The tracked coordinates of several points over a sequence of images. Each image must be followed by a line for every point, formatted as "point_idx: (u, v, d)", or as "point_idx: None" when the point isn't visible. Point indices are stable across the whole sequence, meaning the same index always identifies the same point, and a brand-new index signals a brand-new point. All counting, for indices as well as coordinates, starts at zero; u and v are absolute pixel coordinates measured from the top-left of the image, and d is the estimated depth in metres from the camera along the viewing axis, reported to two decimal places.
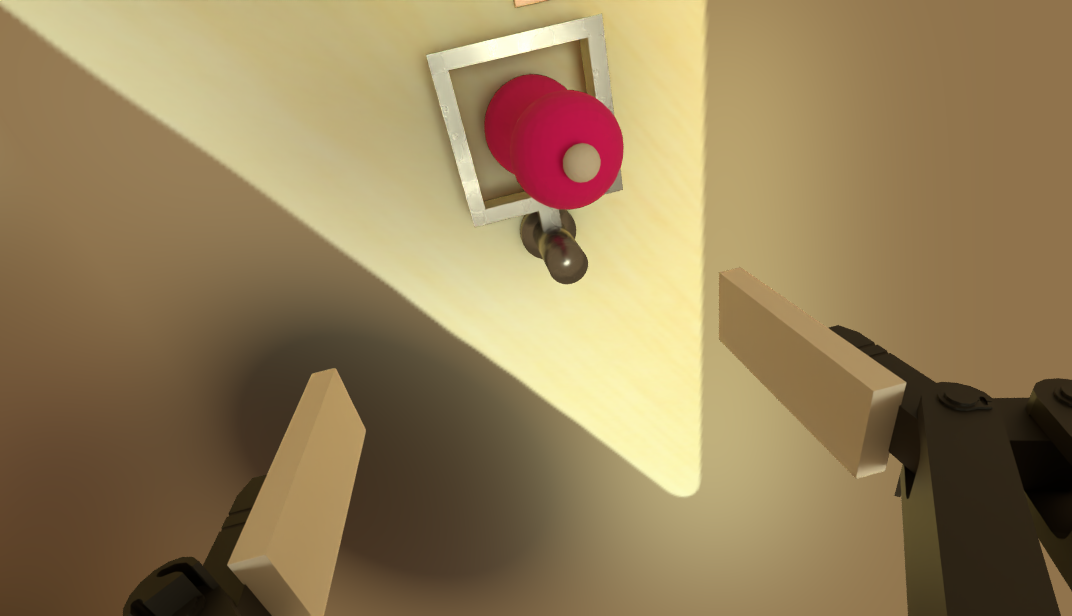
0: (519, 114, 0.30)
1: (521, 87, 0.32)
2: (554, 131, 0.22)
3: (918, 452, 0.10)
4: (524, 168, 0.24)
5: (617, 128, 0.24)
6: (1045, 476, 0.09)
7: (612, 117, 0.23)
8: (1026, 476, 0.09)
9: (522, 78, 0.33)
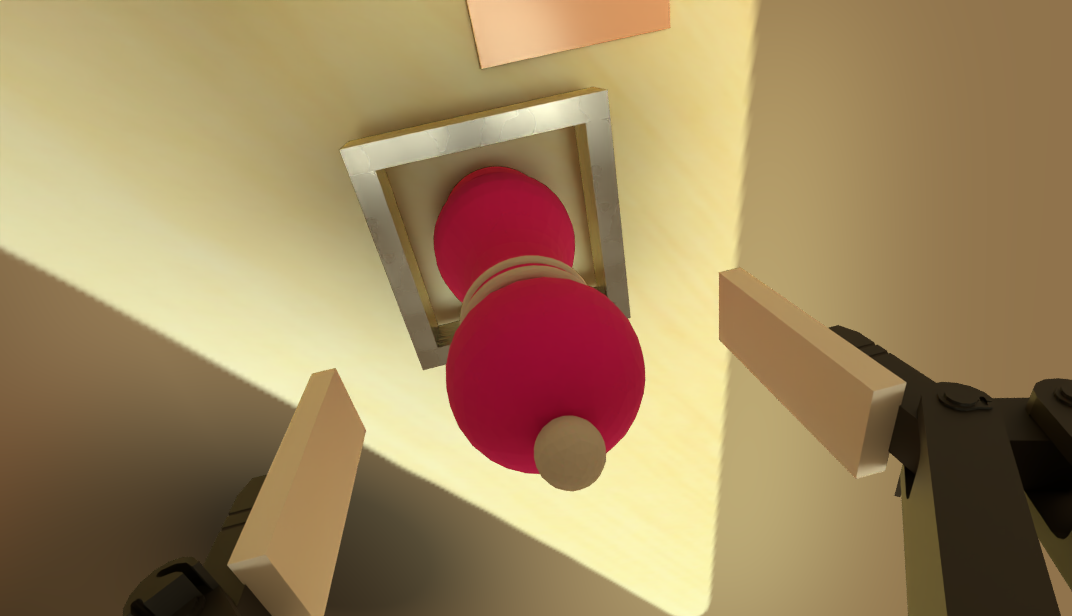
0: (476, 256, 0.19)
1: (484, 202, 0.21)
2: (518, 388, 0.12)
3: (918, 452, 0.10)
4: (465, 428, 0.13)
5: (636, 358, 0.13)
6: (1044, 476, 0.09)
7: (628, 341, 0.13)
8: (1027, 476, 0.09)
9: (487, 183, 0.22)
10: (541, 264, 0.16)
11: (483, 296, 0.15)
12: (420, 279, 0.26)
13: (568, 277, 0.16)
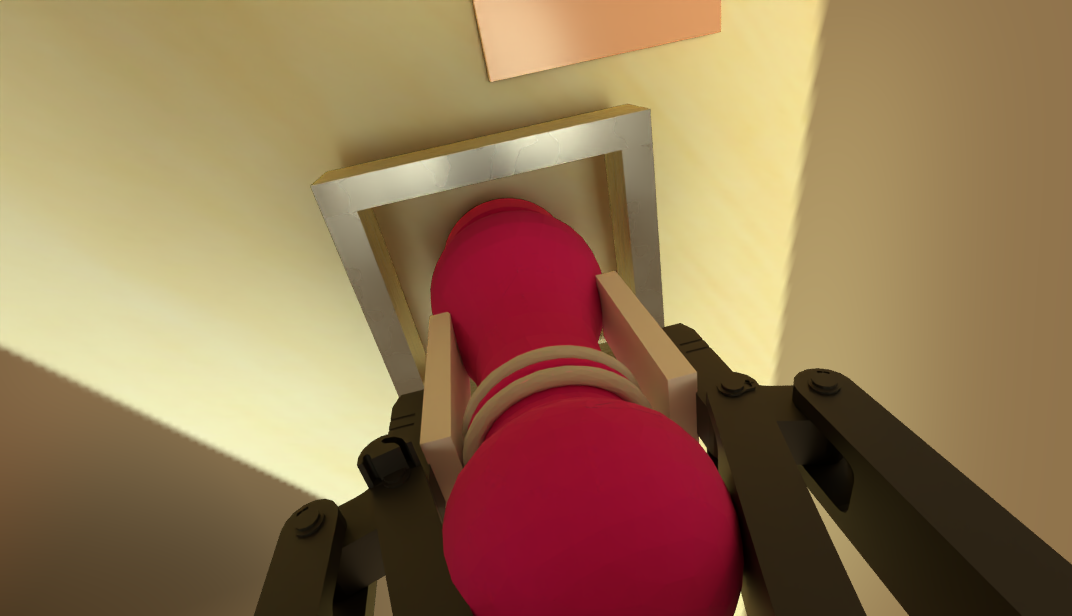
0: (484, 330, 0.15)
1: (494, 253, 0.16)
2: None
3: (715, 439, 0.11)
4: None
5: (737, 541, 0.08)
6: (803, 452, 0.11)
7: (726, 517, 0.08)
8: None
9: (497, 227, 0.17)
10: (577, 360, 0.11)
11: (496, 411, 0.11)
12: (415, 334, 0.22)
13: (616, 381, 0.11)
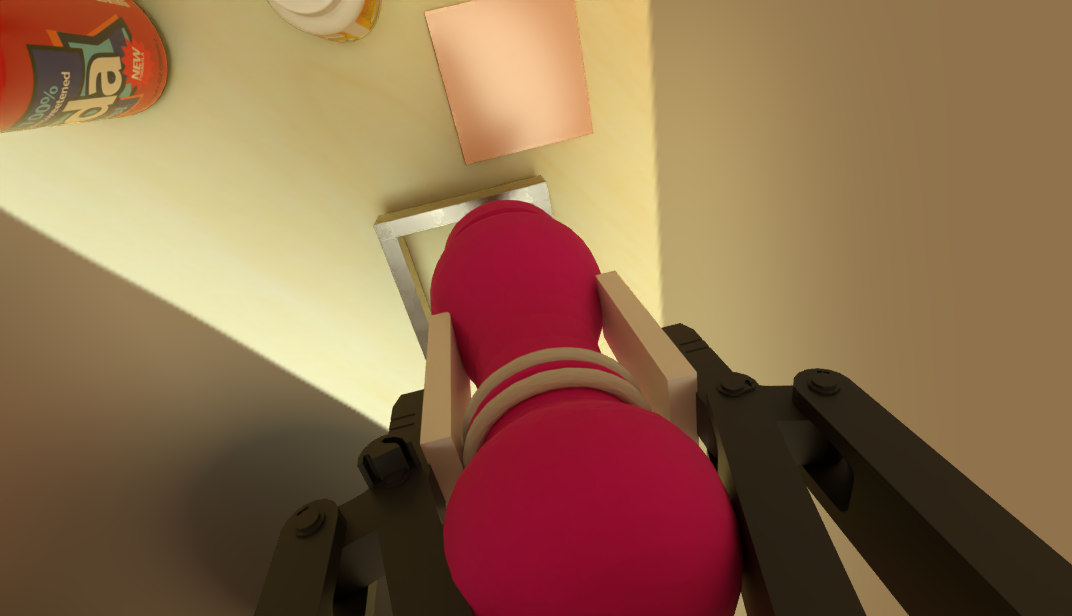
0: (484, 332, 0.15)
1: (493, 255, 0.16)
2: None
3: (715, 439, 0.11)
4: None
5: (737, 544, 0.08)
6: (802, 452, 0.11)
7: (725, 519, 0.08)
8: None
9: (497, 229, 0.17)
10: (576, 362, 0.11)
11: (496, 413, 0.11)
12: (426, 305, 0.38)
13: (616, 383, 0.11)
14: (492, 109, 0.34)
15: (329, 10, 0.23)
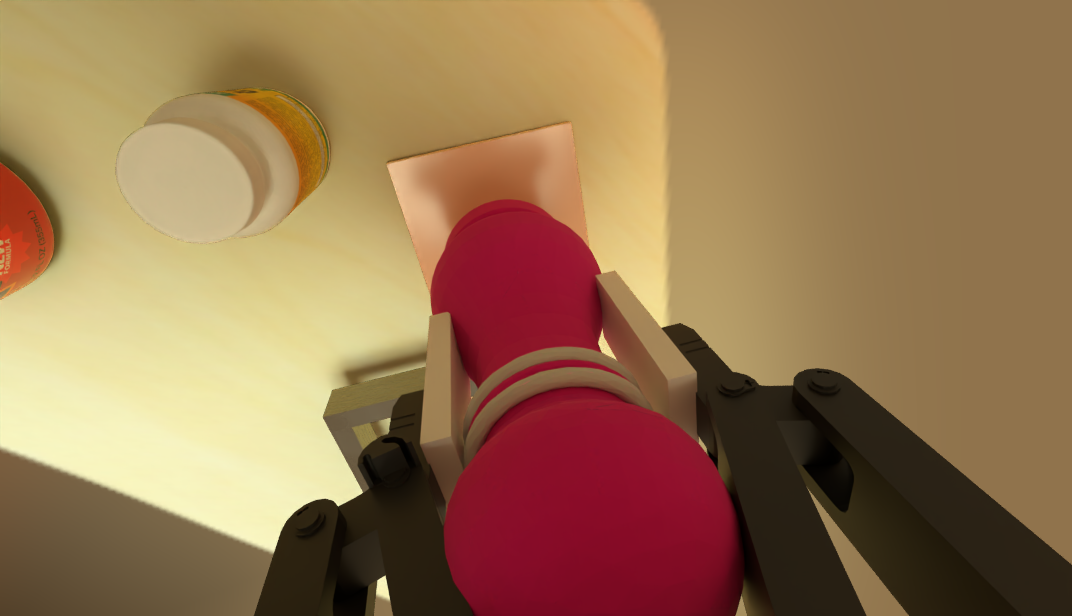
0: (484, 331, 0.15)
1: (494, 254, 0.16)
2: None
3: (715, 439, 0.11)
4: None
5: (738, 543, 0.08)
6: (803, 452, 0.11)
7: (727, 519, 0.08)
8: None
9: (497, 228, 0.17)
10: (577, 362, 0.11)
11: (496, 412, 0.11)
12: None
13: (616, 383, 0.11)
14: None
15: None
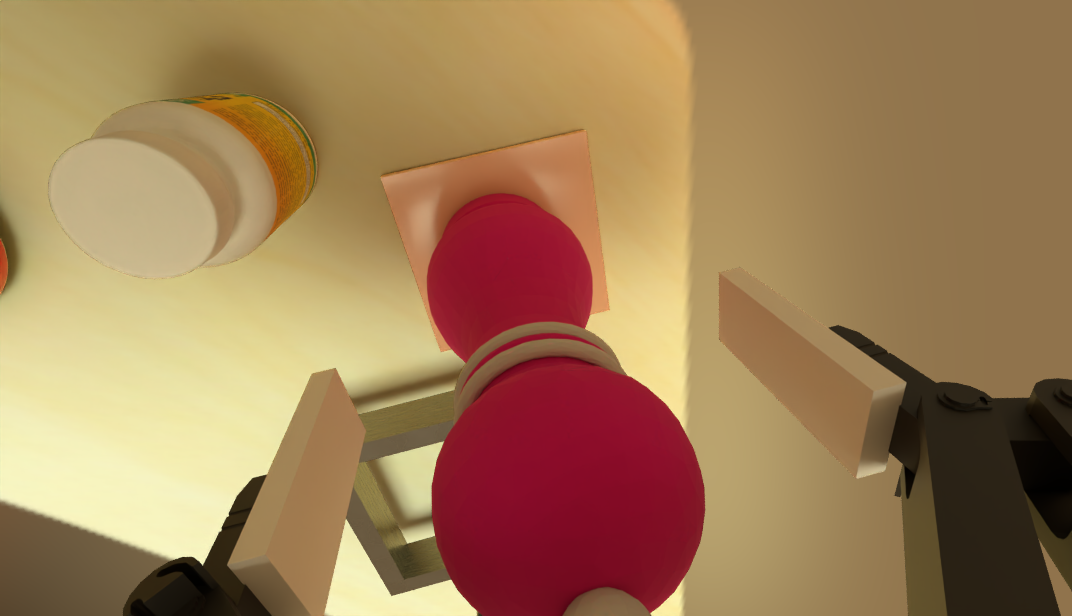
0: (475, 312, 0.16)
1: (485, 242, 0.17)
2: (532, 549, 0.08)
3: (918, 452, 0.10)
4: (457, 585, 0.09)
5: (697, 488, 0.09)
6: (1044, 476, 0.09)
7: (686, 465, 0.09)
8: (1027, 476, 0.09)
9: (489, 218, 0.18)
10: (558, 335, 0.12)
11: (483, 380, 0.12)
12: (388, 517, 0.29)
13: (594, 353, 0.12)
14: None
15: None
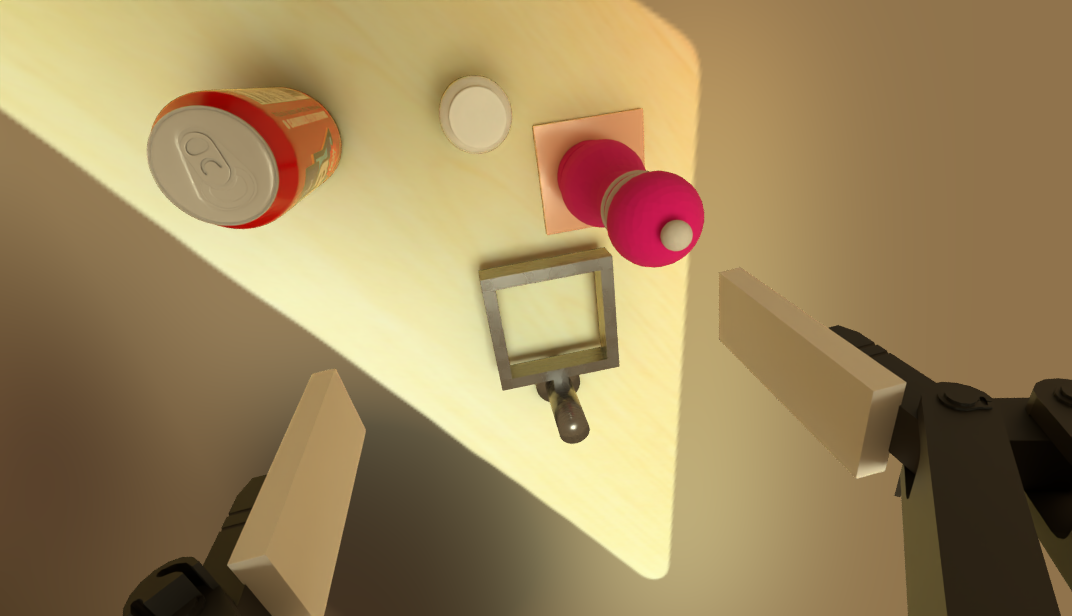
0: (602, 177, 0.35)
1: (602, 152, 0.37)
2: (654, 208, 0.27)
3: (918, 452, 0.10)
4: (623, 234, 0.28)
5: (702, 206, 0.28)
6: (1044, 476, 0.09)
7: (699, 197, 0.28)
8: (1027, 476, 0.09)
9: (601, 143, 0.38)
10: None
11: (621, 186, 0.31)
12: None
13: None
14: None
15: None
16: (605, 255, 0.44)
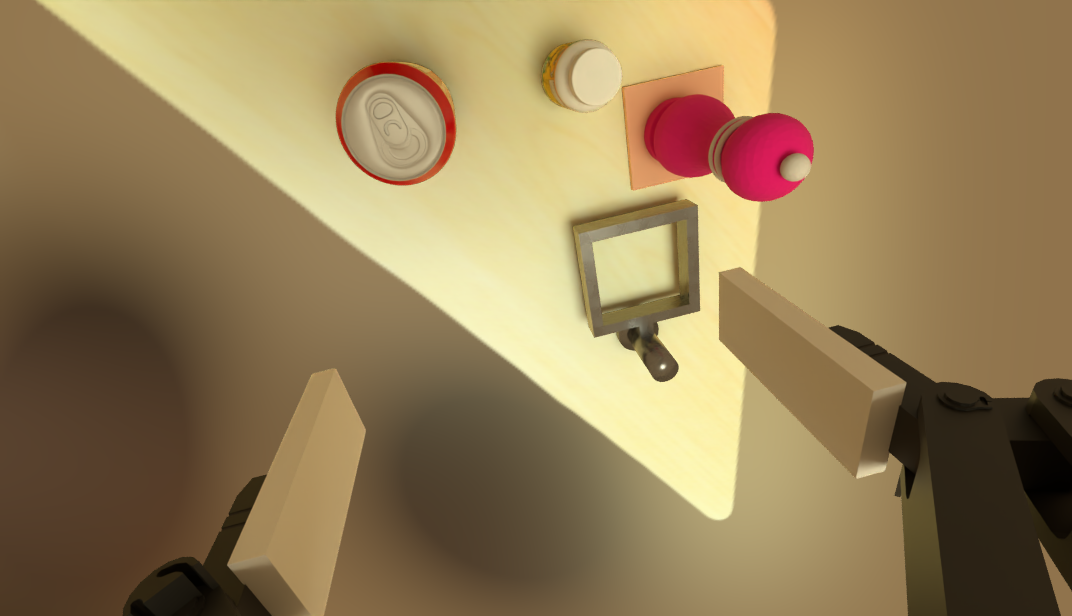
0: (704, 127, 0.38)
1: (698, 105, 0.40)
2: (774, 144, 0.31)
3: (918, 452, 0.10)
4: (743, 170, 0.32)
5: (812, 142, 0.32)
6: (1045, 476, 0.09)
7: (809, 134, 0.32)
8: (1027, 476, 0.09)
9: (694, 97, 0.41)
10: None
11: (731, 130, 0.35)
12: None
13: None
14: None
15: None
16: (690, 205, 0.48)
